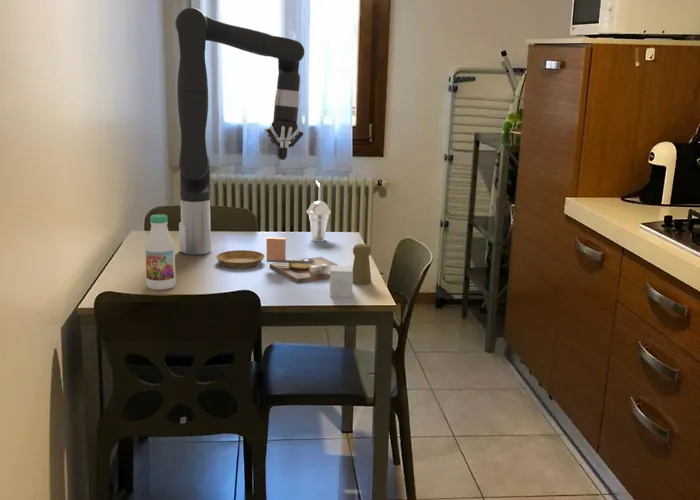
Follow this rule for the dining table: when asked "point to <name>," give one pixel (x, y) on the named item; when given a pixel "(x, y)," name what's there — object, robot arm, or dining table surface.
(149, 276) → the milk bottle
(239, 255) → the plant saucer
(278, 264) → the brown wooden cutting board
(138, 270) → the dining table surface
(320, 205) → the cup with straw
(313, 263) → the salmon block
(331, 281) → the product box
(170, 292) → the dining table surface
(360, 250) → the pepper mill
